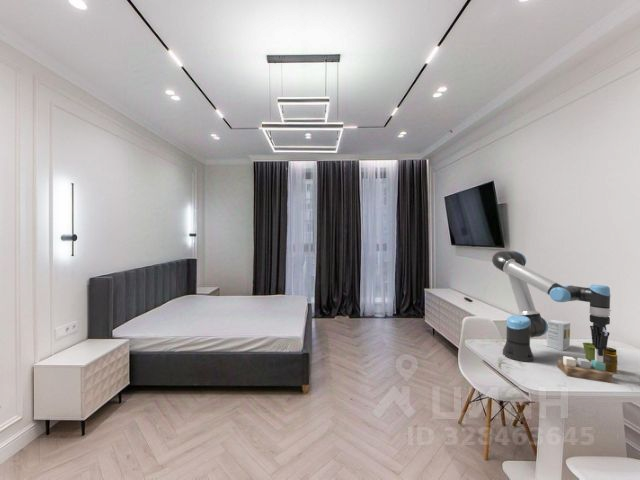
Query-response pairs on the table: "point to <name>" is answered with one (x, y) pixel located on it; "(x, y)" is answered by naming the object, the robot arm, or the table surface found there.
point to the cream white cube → (569, 361)
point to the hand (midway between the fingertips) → (598, 361)
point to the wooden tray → (585, 372)
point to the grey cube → (583, 363)
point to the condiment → (610, 360)
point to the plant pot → (589, 351)
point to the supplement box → (558, 334)
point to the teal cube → (598, 365)
